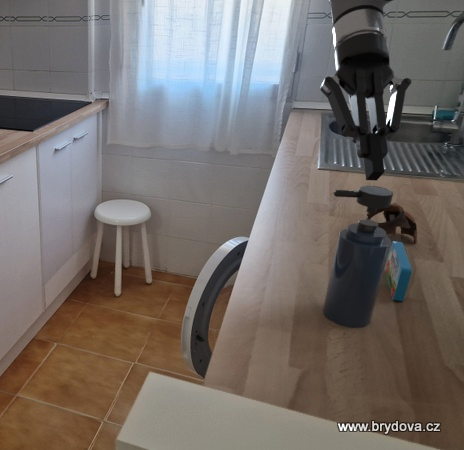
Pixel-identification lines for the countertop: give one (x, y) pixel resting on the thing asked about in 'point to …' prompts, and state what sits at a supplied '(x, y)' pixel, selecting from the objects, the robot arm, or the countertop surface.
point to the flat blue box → (398, 271)
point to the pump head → (369, 197)
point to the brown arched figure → (396, 221)
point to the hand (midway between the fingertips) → (375, 176)
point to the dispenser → (356, 274)
